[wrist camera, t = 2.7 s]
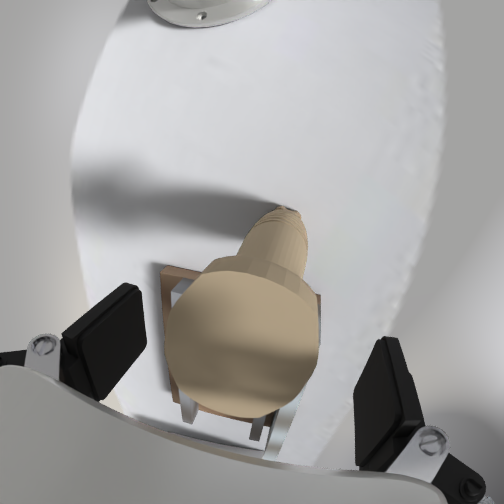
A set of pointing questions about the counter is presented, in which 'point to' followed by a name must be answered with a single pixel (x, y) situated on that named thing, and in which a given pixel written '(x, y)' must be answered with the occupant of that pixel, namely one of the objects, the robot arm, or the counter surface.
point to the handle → (248, 324)
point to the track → (278, 420)
